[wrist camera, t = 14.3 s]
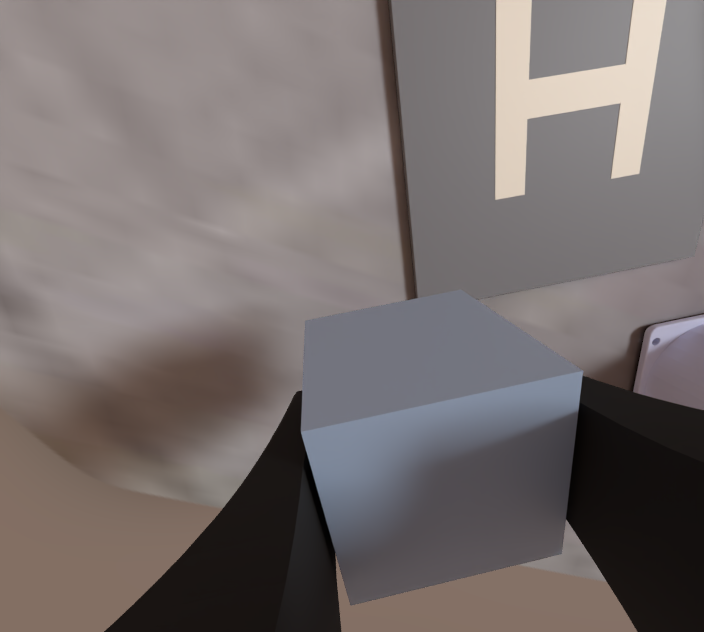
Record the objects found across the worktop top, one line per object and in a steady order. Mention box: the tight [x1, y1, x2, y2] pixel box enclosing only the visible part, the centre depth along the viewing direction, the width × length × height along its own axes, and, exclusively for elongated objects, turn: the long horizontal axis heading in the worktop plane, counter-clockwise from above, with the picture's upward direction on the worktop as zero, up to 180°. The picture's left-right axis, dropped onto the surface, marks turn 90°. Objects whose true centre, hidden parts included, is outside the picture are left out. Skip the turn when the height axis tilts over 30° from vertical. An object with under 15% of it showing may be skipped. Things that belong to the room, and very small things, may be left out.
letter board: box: [388, 0, 704, 300], centre depth 15 cm, size 18×16×1 cm
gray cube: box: [301, 290, 583, 605], centre depth 9 cm, size 5×5×5 cm
